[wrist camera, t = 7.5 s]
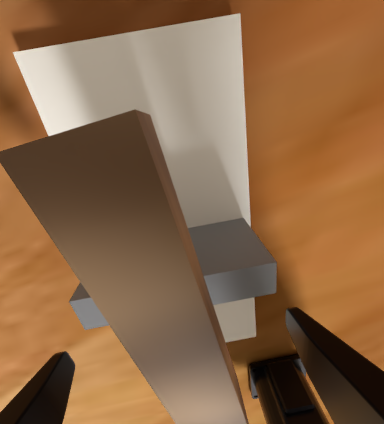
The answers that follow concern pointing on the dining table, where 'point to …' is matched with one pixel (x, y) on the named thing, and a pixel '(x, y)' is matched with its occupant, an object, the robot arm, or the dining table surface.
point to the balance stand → (172, 141)
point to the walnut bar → (133, 257)
